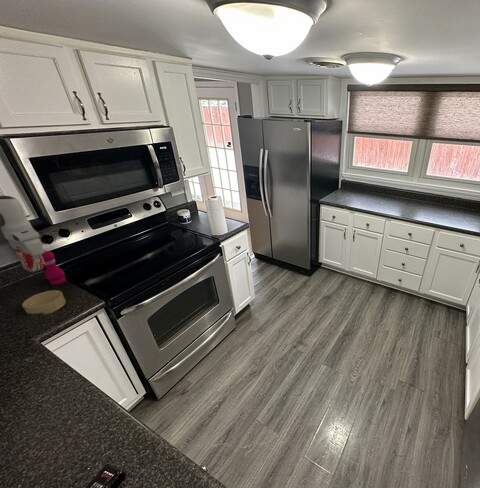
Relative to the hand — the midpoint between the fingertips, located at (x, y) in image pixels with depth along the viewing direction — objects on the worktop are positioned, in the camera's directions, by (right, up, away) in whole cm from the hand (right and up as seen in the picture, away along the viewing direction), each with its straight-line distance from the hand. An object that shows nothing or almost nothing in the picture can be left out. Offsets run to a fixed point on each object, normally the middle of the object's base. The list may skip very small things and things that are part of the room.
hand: (32, 259), depth 121 cm
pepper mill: (-12, -14, +23) cm, 29 cm away
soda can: (0, -4, +2) cm, 5 cm away
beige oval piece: (+3, -23, +4) cm, 24 cm away
